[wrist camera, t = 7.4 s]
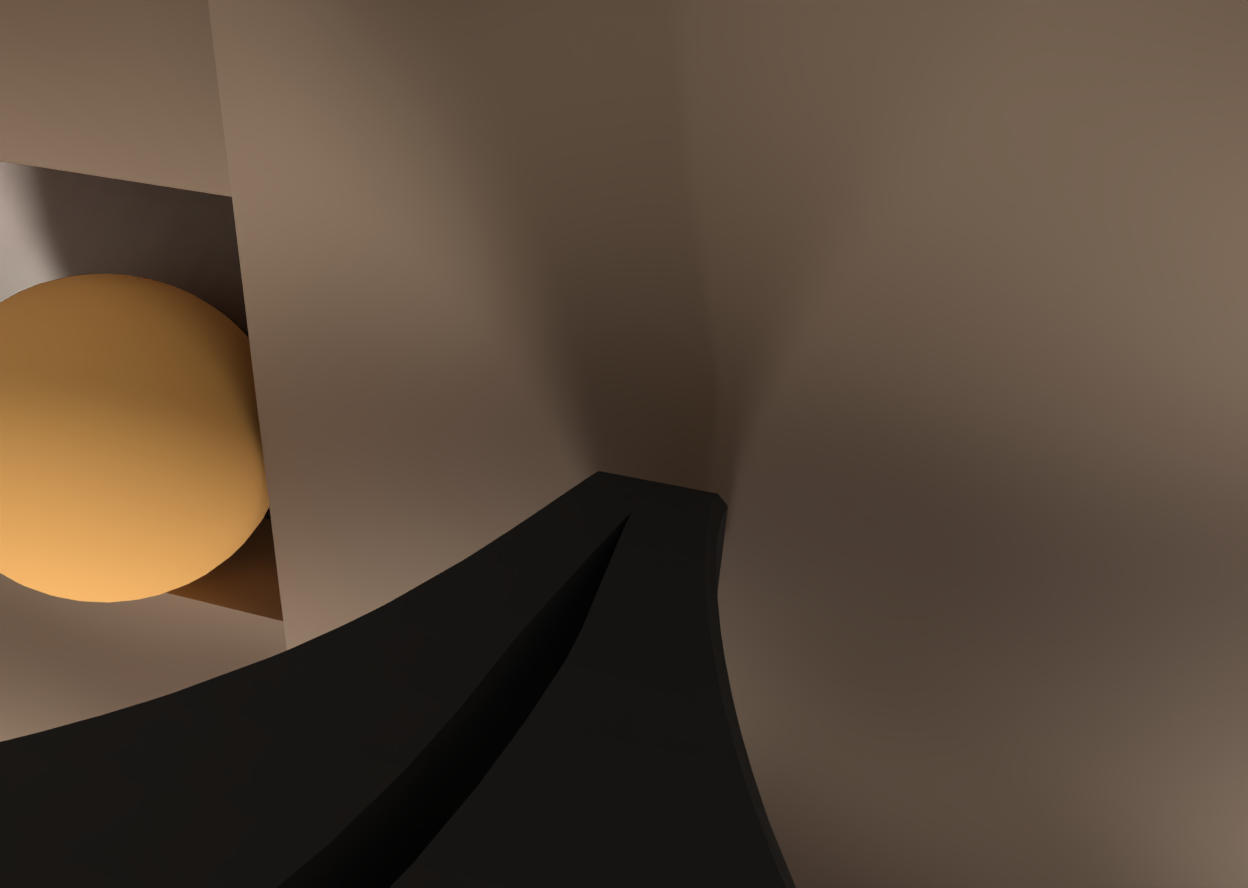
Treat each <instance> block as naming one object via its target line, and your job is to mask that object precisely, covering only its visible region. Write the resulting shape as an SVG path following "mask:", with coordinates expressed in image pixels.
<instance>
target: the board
mask: <svg viewBox="0 0 1248 888" xmlns="http://www.w3.org/2000/svg"><path fill="white" fill-rule="evenodd" d="M0 161H4V162H10V163H17V164H23V165H30V166H36V167H42V168H49V169H55V170H62V171H68V172H75V173H81V174H88V175H94V176H101V177H107V178H113V179H120V180H126V181H133V182H139V183H146V184H152V185H159V186H165V187H171V188H178V189H184V190H191V191H197V192H204V193H210V194H217V195H223V196H229V197H232V203H233V211H234V219H235V227H236V236H237V244H238V252H239V260H240V269H241V277H242V285H243V293H244V301H245V310H246V318H247V326H248V334H249V343H250V351H251V359H252V367H253V376H254V384H255V392H256V400H257V408H258V417H259V425H260V433H261V441H262V450H263V458H264V466H265V474H266V482H267V491H268V499H269V507H270V515H271V519H268V518H263V519H262V521H261V522H260V523H259V525H258V526H257V527H256V529H255V530H254V531H253V533H252V534H251V535H250V536H249V538H248V539H247V540H246V542H245V543H244V544H243V545H242V546H241V547H240V548H239V549H238V550H237V551H236V552H235V553H234V554H233V555H232V556H230V557H229V558H228V559H227V560H225V561H224V562H222V563H221V564H220V565H218V566H217V567H216V568H214V569H213V570H211V571H210V572H209V573H207V574H206V575H204V576H202V577H200V578H198V579H197V580H195V581H193V582H191V583H189V584H187V585H184V586H182V587H179V588H176V589H174V590H171V591H168V592H166V593H163V594H160V595H156V596H152V597H147V598H143V599H138V600H130V601H120V602H87V601H77V600H71V599H66V598H61V597H56V596H52V595H48V594H46V593H43V592H40V591H37V590H34V589H31V588H29V587H26V586H23V585H21V584H19V583H17V582H15V581H14V580H12V579H10V578H8V577H6V576H5V575H3V574H1V573H0V742H2V741H6V740H10V739H14V738H18V737H22V736H26V735H30V734H34V733H38V732H42V731H45V730H49V729H53V728H56V727H60V726H64V725H67V724H71V723H75V722H78V721H82V720H86V719H89V718H93V717H97V716H100V715H104V714H107V713H110V712H113V711H117V710H120V709H123V708H127V707H130V706H133V705H136V704H140V703H143V702H146V701H149V700H153V699H156V698H159V697H162V696H165V695H168V694H171V693H174V692H177V691H180V690H182V689H185V688H188V687H190V686H193V685H196V684H199V683H201V682H204V681H207V680H209V679H212V678H215V677H218V676H220V675H223V674H226V673H229V672H231V671H234V670H237V669H239V668H242V667H245V666H248V665H250V664H253V663H256V662H258V661H261V660H264V659H267V658H269V657H272V656H274V655H277V654H279V653H282V652H284V651H286V650H289V649H291V648H294V647H296V646H298V645H300V644H303V643H305V642H307V641H309V640H311V639H314V638H316V637H318V636H320V635H323V634H325V633H327V632H329V631H331V630H334V629H336V628H338V627H340V626H343V625H345V624H347V623H349V622H351V621H353V620H355V619H357V618H359V617H361V616H363V615H365V614H367V613H369V612H371V611H373V610H375V609H377V608H379V607H381V606H383V605H385V604H387V603H389V602H391V601H392V600H394V599H396V598H398V597H399V596H401V595H403V594H405V593H406V592H408V591H410V590H412V589H413V588H415V587H417V586H419V585H420V584H422V583H424V582H426V581H427V580H429V579H431V578H433V577H434V576H436V575H438V574H440V573H441V572H443V571H445V570H447V569H448V568H450V567H452V566H454V565H455V564H457V563H459V562H461V561H462V560H464V559H466V558H467V557H469V556H470V555H472V554H473V553H475V552H477V551H478V550H480V549H481V548H483V547H484V546H486V545H487V544H489V543H491V542H492V541H494V540H495V539H497V538H498V537H500V536H502V535H503V534H505V533H506V532H508V531H509V530H511V529H512V528H514V527H515V526H517V525H518V524H520V523H521V522H523V521H524V520H526V519H527V518H529V517H530V516H532V515H533V514H535V513H536V512H538V511H539V510H540V509H542V508H543V507H545V506H546V505H548V504H549V503H551V502H552V501H554V500H555V499H557V498H558V497H560V496H561V495H563V494H564V493H566V492H567V491H568V490H570V489H571V488H573V487H575V486H576V485H578V484H579V483H581V482H582V481H584V480H585V479H587V478H588V477H590V476H591V475H593V474H594V473H596V472H598V471H602V472H608V473H613V474H618V475H623V476H628V477H634V478H639V479H644V480H649V481H655V482H660V483H665V484H670V485H676V486H681V487H686V488H691V489H697V490H702V491H707V492H712V493H718V494H719V495H720V497H721V498H722V499H723V501H724V502H725V503H726V504H727V506H728V510H727V518H726V527H725V535H724V544H723V552H722V560H721V569H720V577H719V586H718V594H717V596H718V607H719V617H720V627H721V636H722V642H723V649H724V656H725V661H726V666H727V671H728V677H729V682H730V687H731V692H732V697H733V701H734V705H735V710H736V714H737V718H738V722H739V726H740V730H741V734H742V737H743V741H744V744H745V748H746V751H747V755H748V758H749V762H750V765H751V769H752V772H753V775H754V778H755V781H756V784H757V787H758V790H759V793H760V796H761V799H762V802H763V805H764V808H765V811H766V814H767V817H768V820H769V822H770V825H771V828H772V830H773V833H774V835H775V837H776V840H777V842H778V845H779V847H780V850H781V852H782V854H783V857H784V859H785V862H786V864H787V867H788V869H789V872H790V874H791V876H792V879H793V881H794V884H795V886H796V888H1248V0H0Z"/></svg>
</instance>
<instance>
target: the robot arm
mask: <svg viewBox="0 0 1248 888" xmlns="http://www.w3.org/2000/svg"><path fill="white" fill-rule="evenodd" d="M727 510H728V506H727V504H726V503H725V502H724V501H723V499H722V498H721V497H720V495H719V494H718V493H712V492H707V491H702V490H697V489H691V488H686V487H681V486H676V485H670V484H665V483H660V482H655V481H649V480H644V479H639V478H634V477H628V476H623V475H618V474H613V473H608V472H602V471H598V472H596V473H594V474H593V475H591V476H590V477H588V478H587V479H585V480H584V481H582V482H581V483H579V484H578V485H576V486H575V487H573V488H571V489H570V490H568V491H567V492H566V493H564V494H563V495H561V496H560V497H558V498H557V499H555V500H554V501H552V502H551V503H549V504H548V505H546V506H545V507H543V508H542V509H540V510H539V511H538V512H536V513H535V514H533V515H532V516H530V517H529V518H527V519H526V520H524V521H523V522H521V523H520V524H518V525H517V526H515V527H514V528H512V529H511V530H509V531H508V532H506V533H505V534H503V535H502V536H500V537H498V538H497V539H495V540H494V541H492V542H491V543H489V544H487V545H486V546H484V547H483V548H481V549H480V550H478V551H477V552H475V553H473V554H472V555H470V556H469V557H467V558H466V559H464V560H462V561H461V562H459V563H457V564H455V565H454V566H452V567H450V568H448V569H447V570H445V571H443V572H441V573H440V574H438V575H436V576H434V577H433V578H431V579H429V580H427V581H426V582H424V583H422V584H420V585H419V586H417V587H415V588H413V589H412V590H410V591H408V592H406V593H405V594H403V595H401V596H399V597H398V598H396V599H394V600H392V601H391V602H389V603H387V604H385V605H383V606H381V607H379V608H377V609H375V610H373V611H371V612H369V613H367V614H365V615H363V616H361V617H359V618H357V619H355V620H353V621H351V622H349V623H347V624H345V625H343V626H340V627H338V628H336V629H334V630H331V631H329V632H327V633H325V634H323V635H320V636H318V637H316V638H314V639H311V640H309V641H307V642H305V643H303V644H300V645H298V646H296V647H294V648H291V649H289V650H286V651H284V652H282V653H279V654H277V655H274V656H272V657H269V658H267V659H264V660H261V661H258V662H256V663H253V664H250V665H248V666H245V667H242V668H239V669H237V670H234V671H231V672H229V673H226V674H223V675H220V676H218V677H215V678H212V679H209V680H207V681H204V682H201V683H199V684H196V685H193V686H190V687H188V688H185V689H182V690H180V691H177V692H174V693H171V694H168V695H165V696H162V697H159V698H156V699H153V700H149V701H146V702H143V703H140V704H136V705H133V706H130V707H127V708H123V709H120V710H117V711H113V712H110V713H107V714H104V715H100V716H97V717H93V718H89V719H86V720H82V721H78V722H75V723H71V724H67V725H64V726H60V727H56V728H53V729H49V730H45V731H42V732H38V733H34V734H30V735H26V736H22V737H18V738H14V739H10V740H6V741H2V742H0V888H796V886H795V884H794V881H793V879H792V876H791V874H790V872H789V869H788V867H787V864H786V862H785V859H784V857H783V854H782V852H781V850H780V847H779V845H778V842H777V840H776V837H775V835H774V833H773V830H772V828H771V825H770V822H769V820H768V817H767V814H766V811H765V808H764V805H763V802H762V799H761V796H760V793H759V790H758V787H757V784H756V781H755V778H754V775H753V772H752V769H751V765H750V762H749V758H748V755H747V751H746V748H745V744H744V741H743V737H742V734H741V730H740V726H739V722H738V718H737V714H736V710H735V705H734V701H733V697H732V692H731V687H730V682H729V677H728V671H727V666H726V661H725V656H724V649H723V642H722V636H721V627H720V617H719V607H718V596H717V594H718V586H719V577H720V569H721V560H722V552H723V544H724V535H725V527H726V518H727Z"/></svg>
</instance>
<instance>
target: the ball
mask: <svg viewBox="0 0 1248 888" xmlns="http://www.w3.org/2000/svg"><path fill="white" fill-rule="evenodd" d="M268 508H269V499H268V491H267V482H266V474H265V466H264V458H263V450H262V441H261V433H260V425H259V417H258V408H257V400H256V392H255V384H254V376H253V367H252V359H251V351H250V343H249V338H248V337H247V336H246V335H245V334H244V333H243V331H242V330H241V329H240V328H239V327H238V326H237V325H235V324H234V323H233V322H232V321H231V320H230V319H229V318H228V317H226V316H225V315H224V314H223V313H221V312H220V311H219V310H217V309H216V308H214V307H213V306H211V305H210V304H208V303H206V302H205V301H203V300H201V299H200V298H198V297H196V296H195V295H193V294H191V293H188V292H186V291H184V290H182V289H179V288H177V287H174V286H171V285H168V284H166V283H162V282H159V281H156V280H152V279H147V278H142V277H137V276H131V275H124V274H85V275H76V276H69V277H65V278H61V279H57V280H53V281H49V282H45V283H41V284H38V285H35V286H33V287H30V288H28V289H26V290H23V291H21V292H18V293H17V294H15V295H13V296H11V297H9V298H8V299H6V300H4V301H3V302H1V303H0V573H1V574H3V575H5V576H6V577H8V578H10V579H12V580H14V581H15V582H17V583H19V584H21V585H23V586H26V587H29V588H31V589H34V590H37V591H40V592H43V593H46V594H48V595H52V596H56V597H61V598H66V599H71V600H77V601H87V602H120V601H130V600H138V599H143V598H147V597H152V596H156V595H160V594H163V593H166V592H168V591H171V590H174V589H176V588H179V587H182V586H184V585H187V584H189V583H191V582H193V581H195V580H197V579H198V578H200V577H202V576H204V575H206V574H207V573H209V572H210V571H211V570H213V569H214V568H216V567H217V566H218V565H220V564H221V563H222V562H224V561H225V560H227V559H228V558H229V557H230V556H232V555H233V554H234V553H235V552H236V551H237V550H238V549H239V548H240V547H241V546H242V545H243V544H244V543H245V542H246V540H247V539H248V538H249V536H250V535H251V534H252V533H253V531H254V530H255V529H256V527H257V526H258V525H259V523H260V522H261V521H262V519H263V517H264V516H265V514H266V512H267V510H268Z"/></svg>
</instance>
